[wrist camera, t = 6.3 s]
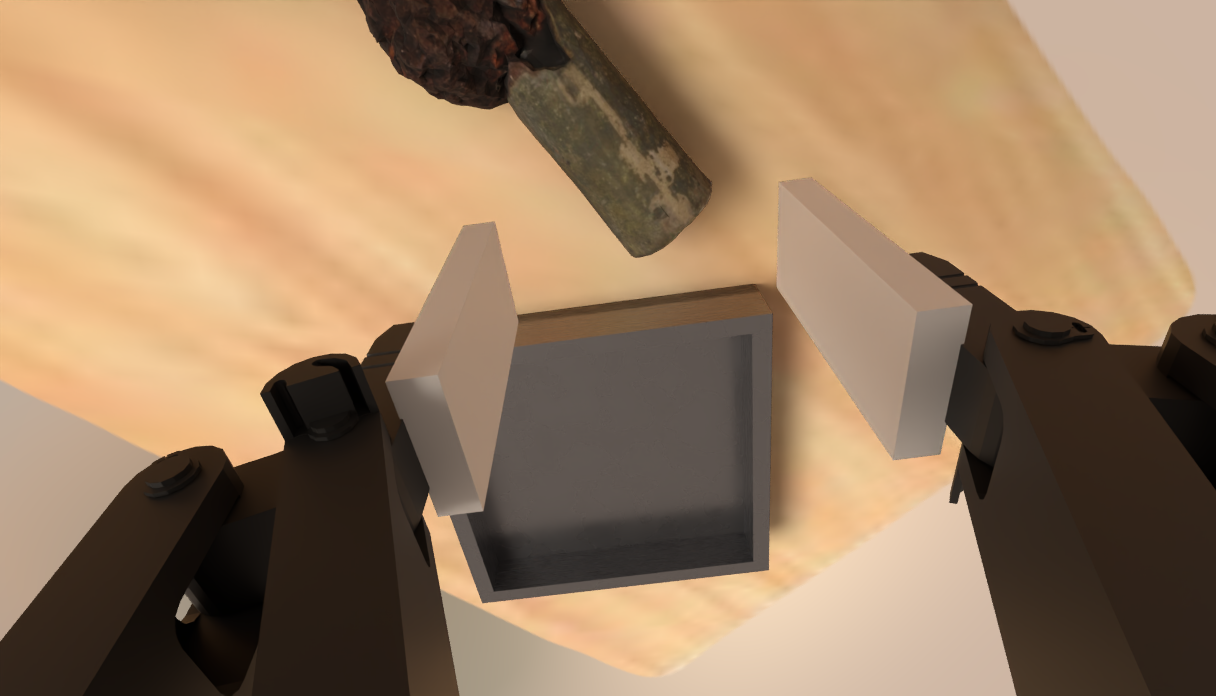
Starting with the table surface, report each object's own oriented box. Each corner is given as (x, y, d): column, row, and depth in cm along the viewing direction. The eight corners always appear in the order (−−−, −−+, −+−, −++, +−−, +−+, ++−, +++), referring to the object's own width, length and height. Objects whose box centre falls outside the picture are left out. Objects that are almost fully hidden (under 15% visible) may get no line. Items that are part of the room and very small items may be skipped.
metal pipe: (706, 176, 28) (731, 207, 23) (599, 262, 30) (600, 308, 25) (426, -201, 22) (377, -270, 17) (311, -59, 23) (236, -82, 18)
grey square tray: (410, 329, 33) (393, 362, 30) (754, 284, 32) (772, 313, 29) (489, 560, 42) (482, 603, 39) (755, 528, 42) (768, 570, 39)
